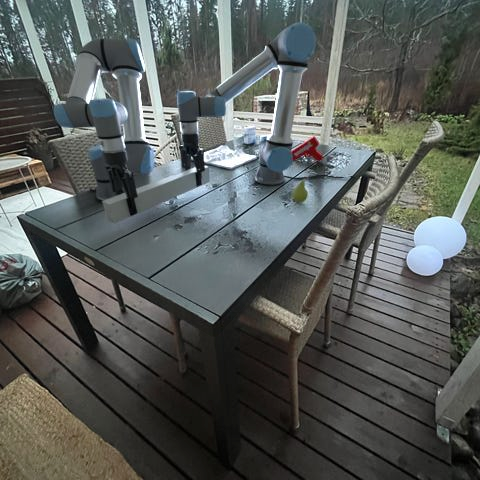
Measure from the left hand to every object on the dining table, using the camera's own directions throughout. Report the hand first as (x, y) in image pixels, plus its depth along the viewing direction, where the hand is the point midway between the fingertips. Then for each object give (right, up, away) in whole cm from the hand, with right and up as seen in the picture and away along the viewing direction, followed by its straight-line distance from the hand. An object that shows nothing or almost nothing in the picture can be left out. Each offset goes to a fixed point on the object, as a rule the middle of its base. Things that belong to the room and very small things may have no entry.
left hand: (129, 212), depth 104 cm
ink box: (+50, +67, +112) cm, 139 cm away
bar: (+11, +7, +12) cm, 18 cm away
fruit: (+69, +6, +18) cm, 72 cm away
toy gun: (+84, +40, +70) cm, 117 cm away
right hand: (+21, +16, +24) cm, 36 cm away
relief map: (+31, +42, +74) cm, 91 cm away
